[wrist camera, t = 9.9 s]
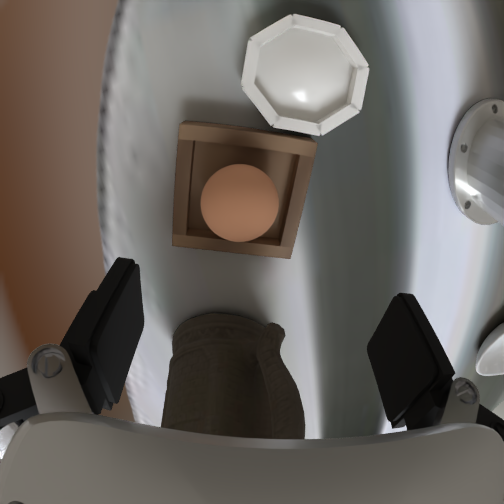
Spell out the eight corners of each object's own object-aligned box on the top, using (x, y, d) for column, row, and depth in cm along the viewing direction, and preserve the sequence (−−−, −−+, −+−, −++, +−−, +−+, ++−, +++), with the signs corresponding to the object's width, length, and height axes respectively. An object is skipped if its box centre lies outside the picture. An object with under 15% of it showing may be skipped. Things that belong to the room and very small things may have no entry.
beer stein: (247, 384, 35) (253, 540, 18) (162, 362, 32) (136, 528, 15) (313, 296, 28) (369, 512, 11) (204, 258, 25) (173, 518, 8)
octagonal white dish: (364, 39, 16) (374, 36, 15) (344, 138, 20) (353, 143, 19) (253, 13, 16) (254, 6, 14) (235, 118, 20) (235, 121, 18)
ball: (281, 161, 20) (290, 184, 16) (268, 225, 23) (274, 261, 19) (209, 152, 20) (198, 171, 16) (202, 217, 23) (192, 251, 18)
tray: (311, 138, 20) (317, 143, 19) (286, 246, 25) (290, 259, 23) (185, 120, 19) (179, 124, 18) (176, 233, 24) (172, 245, 22)
